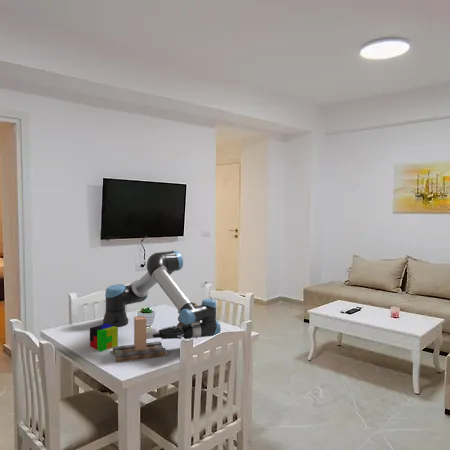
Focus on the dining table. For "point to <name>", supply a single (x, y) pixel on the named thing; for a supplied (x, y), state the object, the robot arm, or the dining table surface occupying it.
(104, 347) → the puzzle toy
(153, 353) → the wooden plank board
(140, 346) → the salmon tan rectangular block
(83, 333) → the dining table surface
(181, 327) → the tankard
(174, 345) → the dining table surface
